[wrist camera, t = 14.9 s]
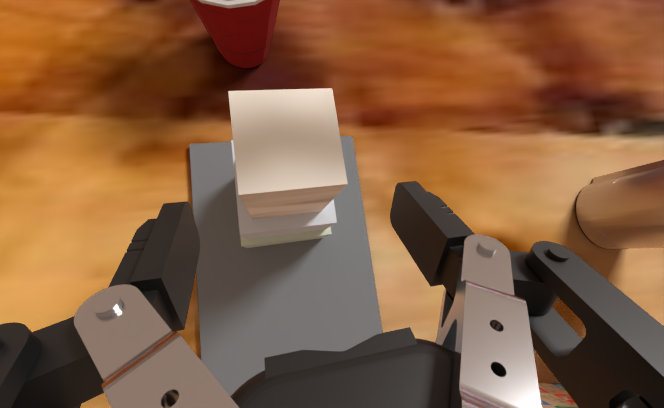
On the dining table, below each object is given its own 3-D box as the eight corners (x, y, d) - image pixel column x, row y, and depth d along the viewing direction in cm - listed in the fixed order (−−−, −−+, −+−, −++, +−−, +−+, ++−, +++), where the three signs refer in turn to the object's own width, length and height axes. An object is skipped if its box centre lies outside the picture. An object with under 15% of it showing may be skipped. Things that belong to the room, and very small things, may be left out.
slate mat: (191, 146, 31) (189, 143, 30) (351, 137, 35) (352, 135, 34) (207, 434, 26) (205, 437, 26) (389, 388, 30) (391, 390, 29)
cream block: (245, 152, 21) (228, 91, 13) (312, 147, 22) (332, 88, 14) (252, 219, 20) (238, 194, 13) (321, 211, 21) (347, 183, 14)
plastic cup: (178, 21, 33) (126, -106, 22) (265, -1, 36) (260, -124, 24) (217, 102, 32) (184, 14, 21) (303, 73, 35) (316, -19, 23)
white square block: (239, 162, 26) (231, 140, 21) (315, 156, 27) (324, 134, 23) (246, 239, 25) (239, 234, 20) (325, 229, 26) (336, 222, 21)
